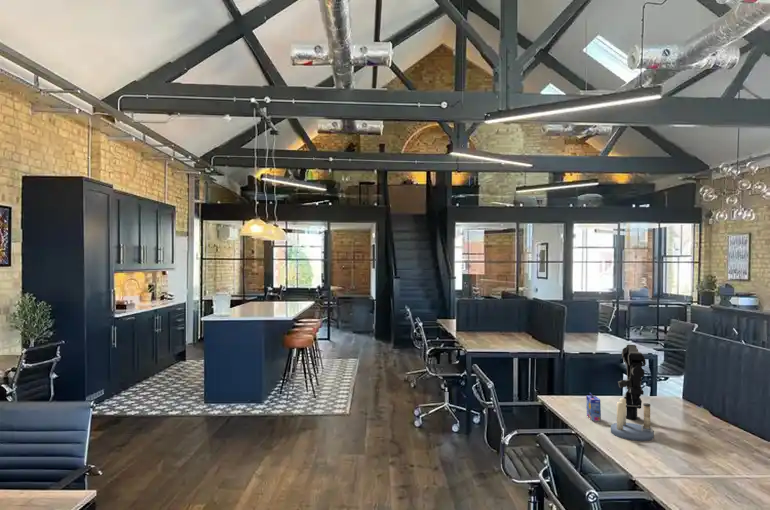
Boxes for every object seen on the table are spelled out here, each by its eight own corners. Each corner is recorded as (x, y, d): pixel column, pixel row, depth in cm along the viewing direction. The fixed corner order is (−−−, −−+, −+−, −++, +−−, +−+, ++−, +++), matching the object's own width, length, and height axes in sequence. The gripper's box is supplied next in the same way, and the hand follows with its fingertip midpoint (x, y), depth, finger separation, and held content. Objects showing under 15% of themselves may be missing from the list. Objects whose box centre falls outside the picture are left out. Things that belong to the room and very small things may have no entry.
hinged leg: (643, 427, 264) (643, 402, 264) (650, 428, 262) (650, 403, 262) (643, 429, 261) (643, 404, 261) (650, 430, 259) (650, 405, 259)
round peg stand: (614, 426, 279) (614, 395, 279) (655, 432, 268) (655, 401, 268) (607, 435, 262) (607, 403, 262) (651, 443, 251) (651, 409, 252)
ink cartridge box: (585, 416, 297) (585, 391, 298) (595, 416, 297) (595, 391, 297) (591, 421, 287) (591, 395, 288) (601, 421, 287) (601, 395, 287)
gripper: (617, 372, 290) (615, 400, 289) (621, 375, 273) (619, 405, 272) (639, 375, 287) (637, 403, 285) (644, 378, 269) (642, 409, 268)
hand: (633, 405), depth 278 cm, fingers closed
